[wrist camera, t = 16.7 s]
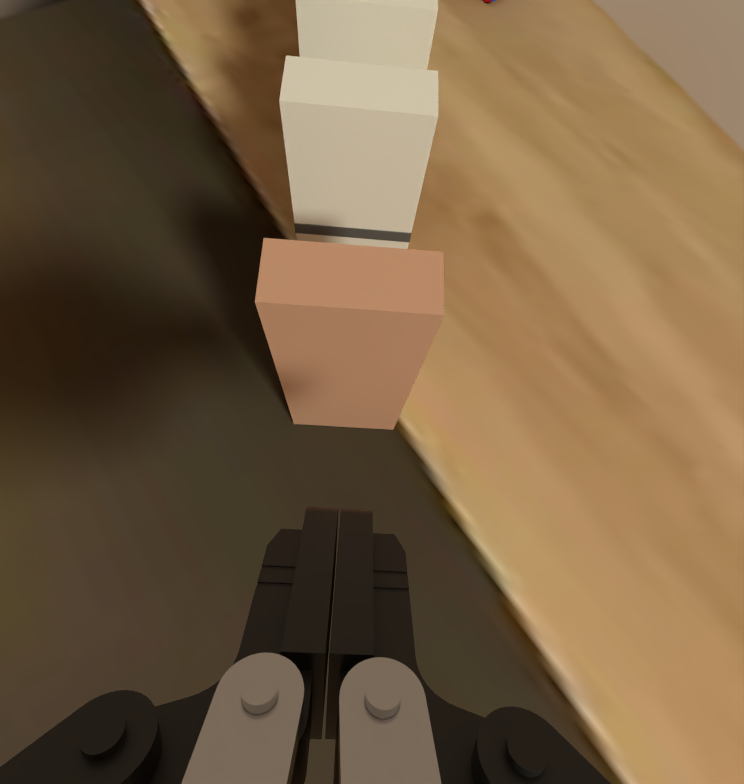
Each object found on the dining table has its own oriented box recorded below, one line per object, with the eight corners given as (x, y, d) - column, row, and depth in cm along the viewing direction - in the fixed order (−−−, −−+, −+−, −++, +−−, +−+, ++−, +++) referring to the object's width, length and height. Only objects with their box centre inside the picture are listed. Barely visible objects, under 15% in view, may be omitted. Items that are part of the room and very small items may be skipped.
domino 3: (312, 225, 28) (294, -5, 16) (315, 196, 28) (301, -43, 17) (396, 232, 28) (438, 10, 17) (397, 204, 29) (438, -28, 17)
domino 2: (304, 300, 26) (279, 101, 15) (307, 267, 27) (286, 54, 15) (394, 306, 26) (438, 116, 15) (395, 274, 27) (437, 70, 16)
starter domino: (293, 423, 24) (254, 301, 12) (297, 386, 24) (263, 237, 13) (393, 429, 24) (443, 315, 13) (394, 392, 25) (443, 251, 13)
